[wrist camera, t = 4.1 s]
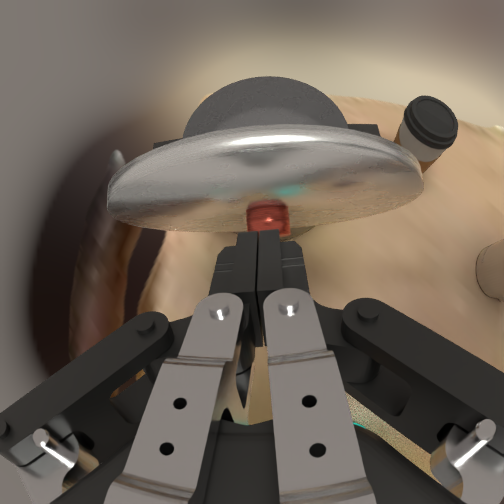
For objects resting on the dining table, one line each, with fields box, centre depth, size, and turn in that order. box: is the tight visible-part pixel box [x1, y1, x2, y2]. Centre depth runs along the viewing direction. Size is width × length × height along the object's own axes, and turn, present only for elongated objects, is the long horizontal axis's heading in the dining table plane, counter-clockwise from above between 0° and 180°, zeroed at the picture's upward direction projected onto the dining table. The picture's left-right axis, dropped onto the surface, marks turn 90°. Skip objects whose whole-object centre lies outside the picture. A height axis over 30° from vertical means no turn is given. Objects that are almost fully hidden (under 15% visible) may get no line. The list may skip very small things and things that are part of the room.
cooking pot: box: [153, 76, 381, 241], centre depth 43 cm, size 31×22×12 cm
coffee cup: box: [394, 96, 458, 173], centre depth 40 cm, size 8×8×15 cm
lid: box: [107, 124, 424, 237], centre depth 23 cm, size 23×24×3 cm
